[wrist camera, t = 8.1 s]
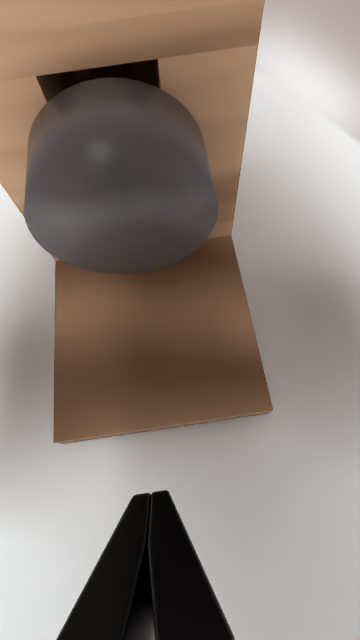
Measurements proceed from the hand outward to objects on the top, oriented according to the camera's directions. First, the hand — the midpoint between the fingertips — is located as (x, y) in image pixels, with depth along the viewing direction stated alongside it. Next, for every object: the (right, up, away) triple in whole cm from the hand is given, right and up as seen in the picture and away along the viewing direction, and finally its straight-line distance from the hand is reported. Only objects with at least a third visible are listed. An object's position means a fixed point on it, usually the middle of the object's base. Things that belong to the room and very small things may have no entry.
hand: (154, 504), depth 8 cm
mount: (-1, +7, +10) cm, 12 cm away
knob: (-2, +10, +7) cm, 13 cm away
